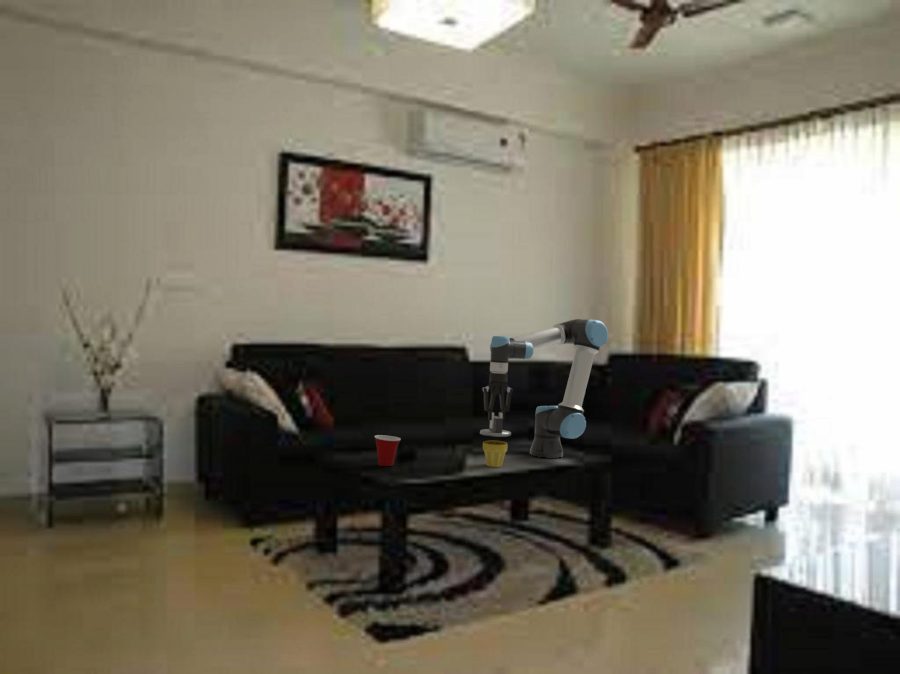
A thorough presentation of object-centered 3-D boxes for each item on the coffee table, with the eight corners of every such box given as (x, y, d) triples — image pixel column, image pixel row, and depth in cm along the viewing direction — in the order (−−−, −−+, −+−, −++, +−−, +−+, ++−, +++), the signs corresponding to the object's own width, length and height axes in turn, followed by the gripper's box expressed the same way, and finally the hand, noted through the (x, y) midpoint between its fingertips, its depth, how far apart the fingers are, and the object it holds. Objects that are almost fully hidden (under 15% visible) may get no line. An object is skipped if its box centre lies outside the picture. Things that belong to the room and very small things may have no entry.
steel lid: (505, 432, 345) (506, 415, 345) (514, 436, 333) (515, 419, 333) (476, 431, 342) (477, 414, 342) (484, 436, 330) (485, 419, 330)
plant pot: (504, 468, 332) (505, 445, 332) (480, 466, 334) (481, 443, 334) (507, 464, 342) (509, 441, 342) (484, 462, 344) (485, 439, 344)
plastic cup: (401, 468, 322) (402, 438, 322) (374, 468, 320) (375, 438, 320) (398, 463, 333) (399, 434, 332) (372, 463, 331) (373, 434, 331)
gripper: (482, 372, 331) (479, 429, 332) (519, 373, 335) (516, 429, 336) (477, 371, 339) (475, 426, 339) (514, 372, 342) (511, 427, 343)
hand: (495, 428), depth 337 cm, fingers closed on steel lid, 3 cm apart
